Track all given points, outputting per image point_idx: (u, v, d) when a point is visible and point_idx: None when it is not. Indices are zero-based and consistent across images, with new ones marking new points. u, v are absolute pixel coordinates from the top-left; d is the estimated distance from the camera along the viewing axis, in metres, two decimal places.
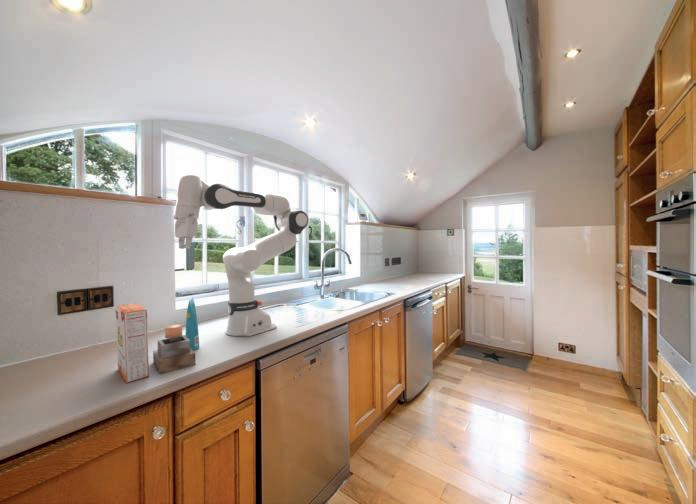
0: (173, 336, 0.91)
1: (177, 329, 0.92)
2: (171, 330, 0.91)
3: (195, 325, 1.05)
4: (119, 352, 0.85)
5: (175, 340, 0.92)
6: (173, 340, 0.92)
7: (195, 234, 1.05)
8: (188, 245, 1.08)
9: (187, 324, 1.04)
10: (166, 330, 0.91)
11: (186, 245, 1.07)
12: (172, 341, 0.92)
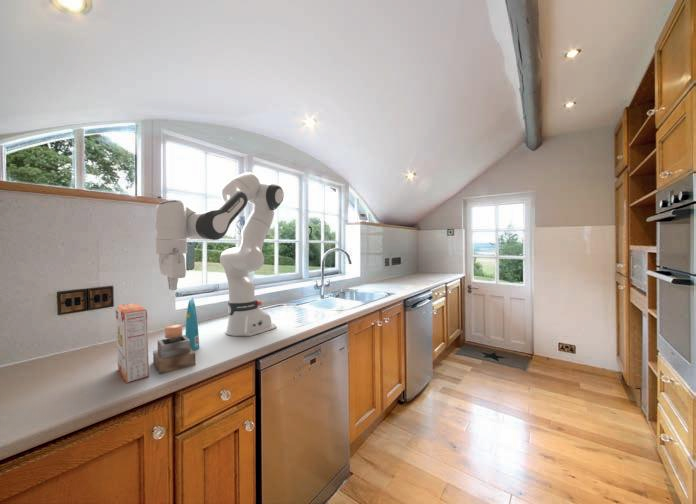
0: (173, 336, 0.91)
1: (177, 329, 0.92)
2: (171, 330, 0.91)
3: (195, 325, 1.05)
4: (119, 352, 0.85)
5: (175, 340, 0.92)
6: (173, 340, 0.92)
7: (183, 275, 0.86)
8: (174, 286, 0.91)
9: (187, 324, 1.04)
10: (166, 330, 0.91)
11: (171, 286, 0.91)
12: (172, 341, 0.92)
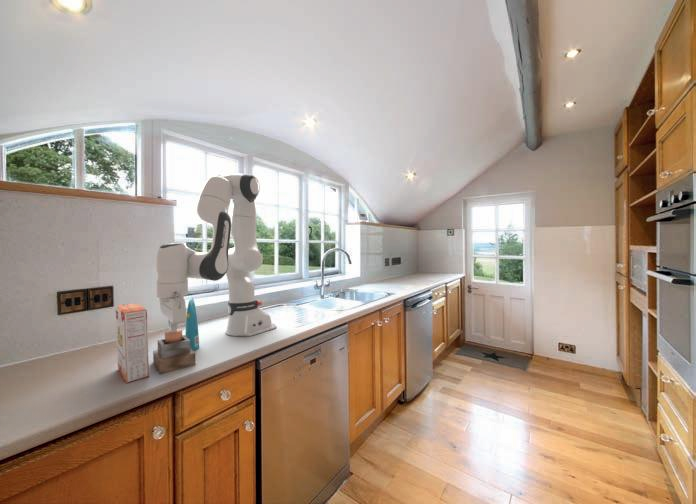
0: (173, 341, 0.91)
1: (177, 334, 0.92)
2: (171, 335, 0.91)
3: (195, 325, 1.05)
4: (119, 352, 0.85)
5: None
6: None
7: (184, 320, 0.86)
8: (174, 328, 0.92)
9: (187, 324, 1.04)
10: (166, 335, 0.91)
11: (172, 329, 0.91)
12: None
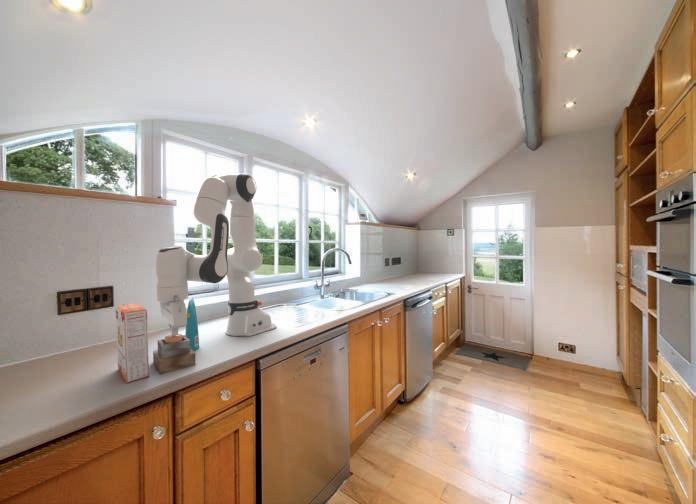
0: None
1: (177, 338, 0.92)
2: (171, 339, 0.91)
3: (195, 325, 1.05)
4: (119, 352, 0.85)
5: None
6: None
7: (184, 323, 0.86)
8: (175, 332, 0.92)
9: (187, 324, 1.04)
10: (166, 339, 0.91)
11: (173, 332, 0.92)
12: None
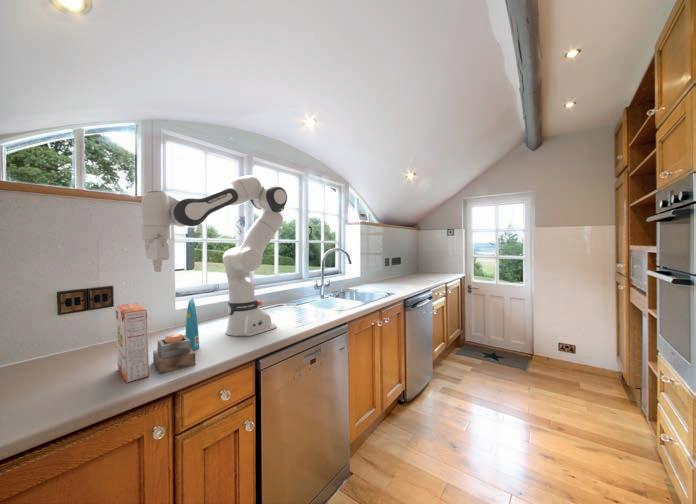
0: None
1: (177, 338, 0.92)
2: (171, 339, 0.91)
3: (195, 325, 1.05)
4: (119, 352, 0.85)
5: None
6: None
7: (167, 257, 0.96)
8: (158, 268, 1.01)
9: (187, 324, 1.04)
10: (166, 339, 0.91)
11: (156, 268, 1.01)
12: None
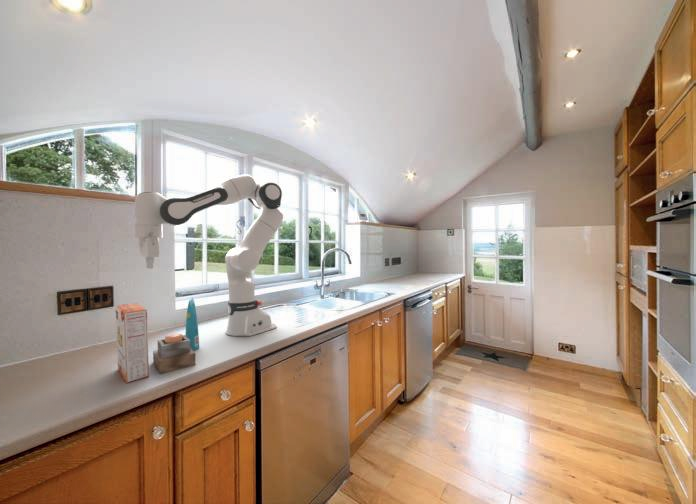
0: None
1: (177, 338, 0.92)
2: (171, 339, 0.91)
3: (195, 325, 1.05)
4: (119, 352, 0.85)
5: None
6: None
7: (157, 254, 1.02)
8: (150, 265, 1.08)
9: (187, 324, 1.04)
10: (166, 339, 0.91)
11: (148, 265, 1.07)
12: None
